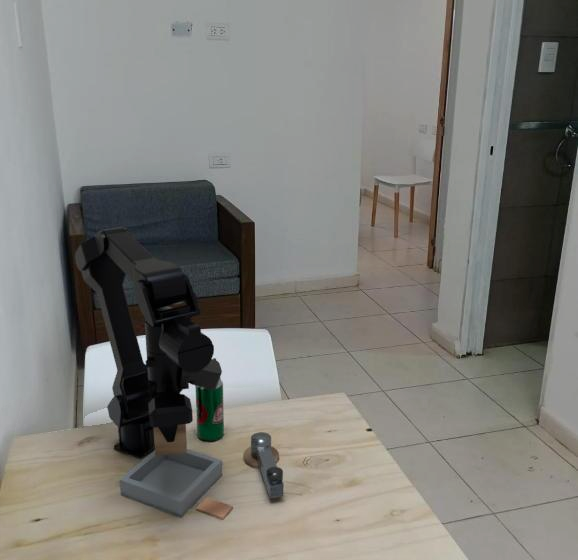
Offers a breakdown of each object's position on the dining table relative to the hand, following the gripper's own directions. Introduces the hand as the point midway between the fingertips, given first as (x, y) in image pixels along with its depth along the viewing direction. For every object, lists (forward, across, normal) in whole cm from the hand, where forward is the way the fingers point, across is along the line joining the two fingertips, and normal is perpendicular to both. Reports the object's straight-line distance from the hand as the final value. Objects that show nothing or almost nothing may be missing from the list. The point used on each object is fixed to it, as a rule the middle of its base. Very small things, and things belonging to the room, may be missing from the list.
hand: (169, 434), depth 100 cm
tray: (+10, 0, 0) cm, 10 cm away
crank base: (+10, -1, -12) cm, 15 cm away
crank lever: (+9, -1, -16) cm, 18 cm away
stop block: (+2, 0, 0) cm, 2 cm away
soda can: (+10, +13, -8) cm, 19 cm away
